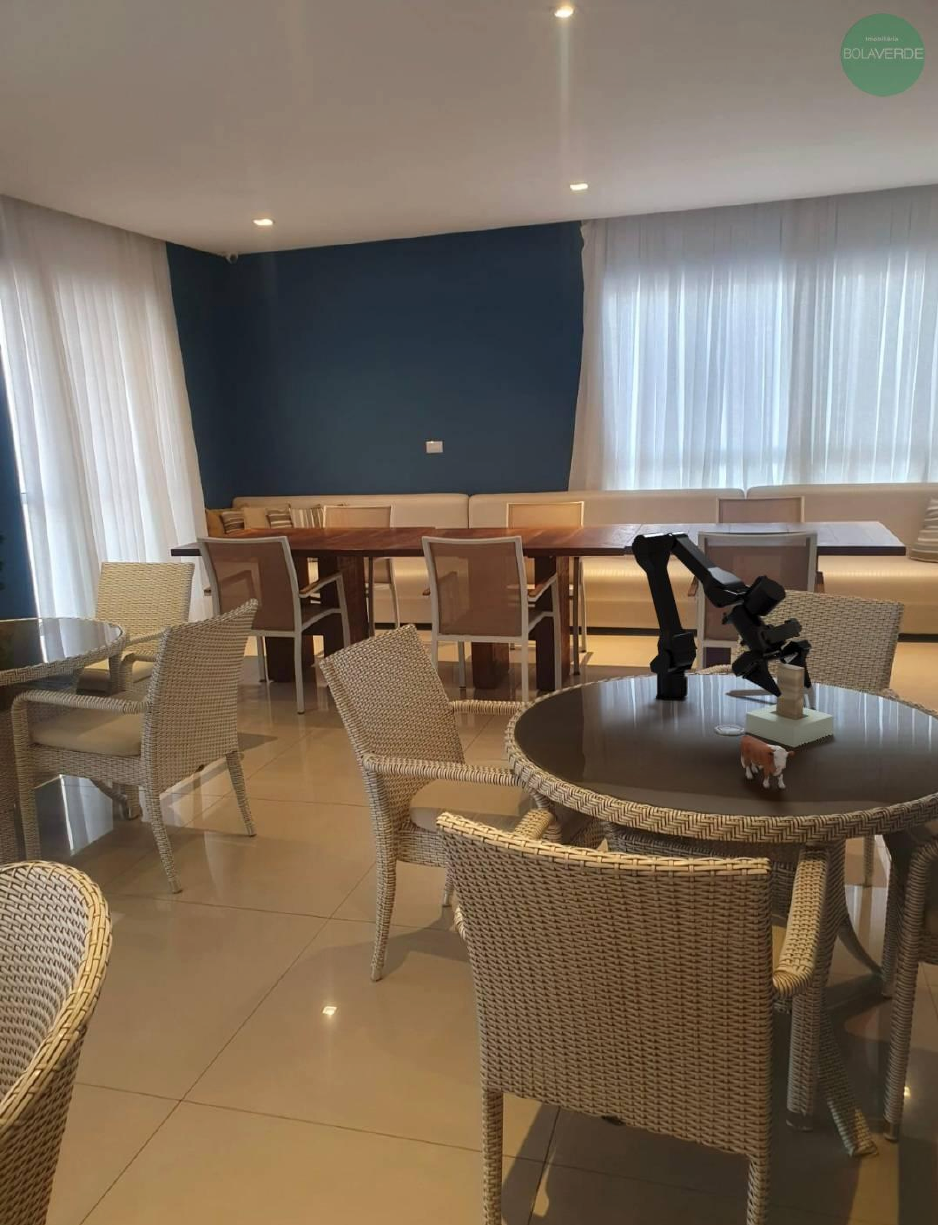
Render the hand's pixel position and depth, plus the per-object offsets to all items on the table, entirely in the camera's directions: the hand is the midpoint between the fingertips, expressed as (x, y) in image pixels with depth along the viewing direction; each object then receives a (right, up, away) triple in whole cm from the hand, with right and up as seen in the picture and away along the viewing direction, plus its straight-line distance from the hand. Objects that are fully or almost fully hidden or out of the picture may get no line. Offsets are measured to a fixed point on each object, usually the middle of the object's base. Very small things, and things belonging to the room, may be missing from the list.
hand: (795, 691), depth 175 cm
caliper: (+3, -5, +25) cm, 25 cm away
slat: (0, -8, +3) cm, 8 cm away
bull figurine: (-13, -14, -22) cm, 29 cm away
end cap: (0, -9, +3) cm, 9 cm away
